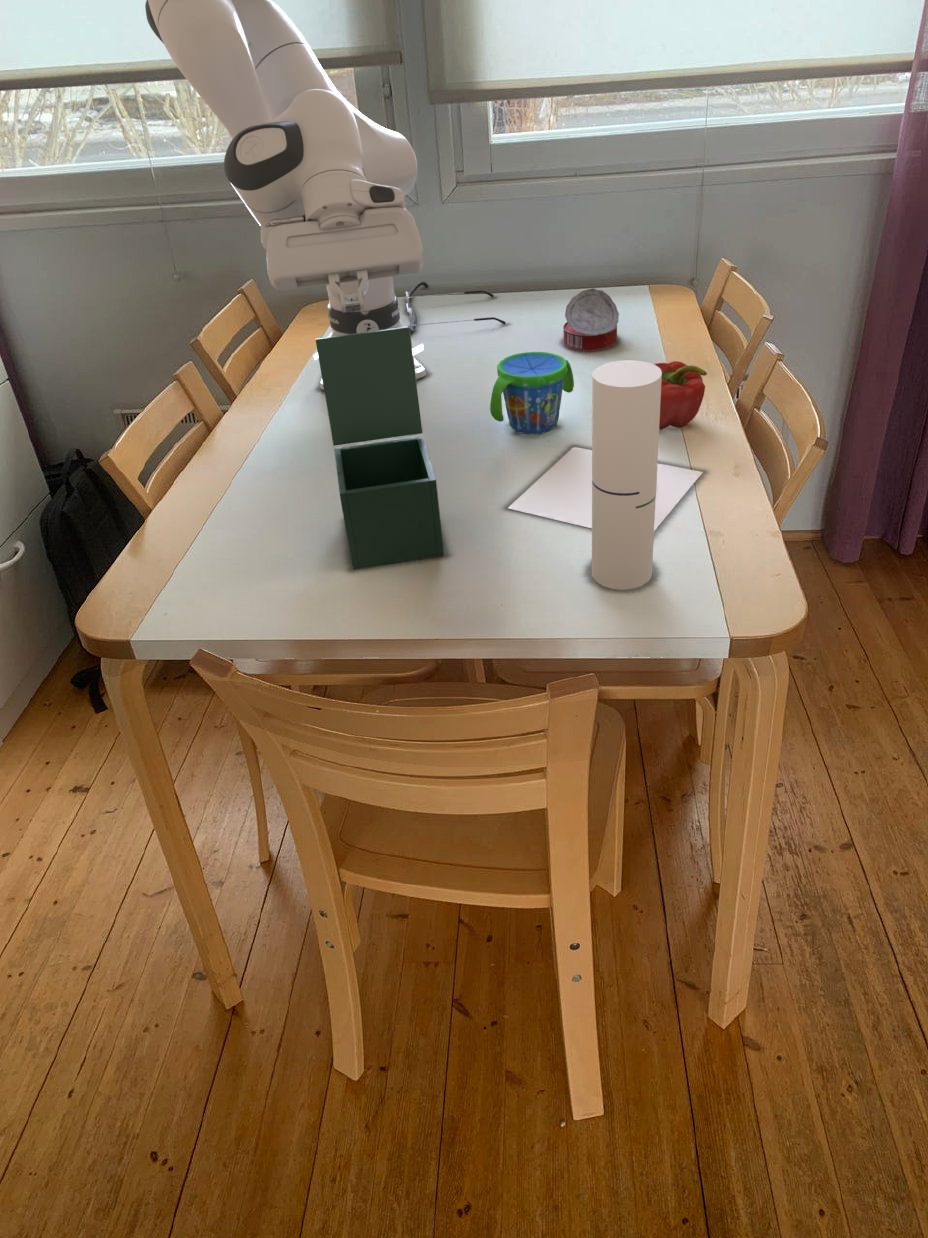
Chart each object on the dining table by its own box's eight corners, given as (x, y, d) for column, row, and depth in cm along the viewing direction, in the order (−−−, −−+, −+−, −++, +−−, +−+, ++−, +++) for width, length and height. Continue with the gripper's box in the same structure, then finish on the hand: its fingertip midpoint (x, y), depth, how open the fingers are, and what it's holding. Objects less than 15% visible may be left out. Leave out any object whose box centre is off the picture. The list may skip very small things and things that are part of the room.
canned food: (613, 358, 178) (639, 314, 171) (590, 372, 171) (616, 326, 164) (567, 324, 180) (591, 278, 173) (542, 336, 173) (566, 289, 166)
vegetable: (719, 420, 143) (725, 357, 137) (682, 445, 137) (686, 380, 132) (658, 404, 150) (661, 342, 144) (620, 427, 144) (622, 364, 138)
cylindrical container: (586, 559, 115) (586, 364, 100) (643, 553, 115) (652, 357, 100) (598, 592, 109) (599, 390, 94) (658, 585, 109) (669, 382, 95)
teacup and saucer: (638, 505, 124) (639, 478, 122) (584, 493, 128) (584, 466, 126) (664, 476, 130) (665, 450, 128) (611, 466, 134) (612, 439, 132)
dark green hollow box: (444, 555, 118) (436, 480, 112) (352, 570, 117) (339, 494, 111) (430, 507, 128) (422, 435, 122) (346, 520, 127) (334, 448, 121)
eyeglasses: (405, 306, 198) (403, 287, 196) (493, 299, 199) (492, 280, 197) (410, 335, 183) (408, 315, 181) (505, 327, 185) (505, 307, 182)
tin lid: (409, 327, 115) (408, 326, 116) (315, 339, 114) (315, 338, 115) (422, 433, 121) (422, 431, 122) (333, 446, 120) (333, 444, 121)
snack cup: (552, 401, 153) (551, 340, 147) (594, 422, 146) (594, 359, 140) (473, 429, 147) (469, 367, 141) (513, 452, 140) (510, 388, 134)
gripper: (254, 206, 119) (268, 307, 117) (413, 187, 120) (430, 286, 118) (262, 235, 125) (276, 331, 123) (414, 216, 126) (430, 311, 124)
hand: (353, 309), depth 120 cm, fingers closed
